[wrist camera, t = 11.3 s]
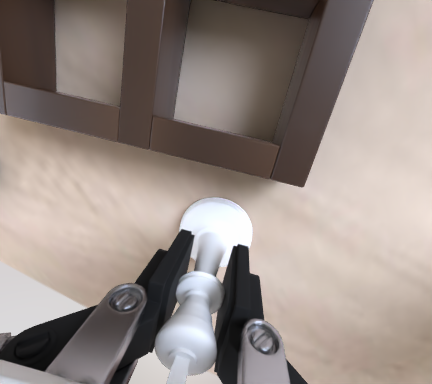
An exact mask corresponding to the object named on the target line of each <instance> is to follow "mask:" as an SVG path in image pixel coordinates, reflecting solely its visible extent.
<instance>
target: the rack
mask: <svg viewBox="0 0 432 384" xmlns="http://www.w3.org/2000/svg"><path fill="white" fill-rule="evenodd" d="M215 1H220V2H225V3H231V4H236V5H241V6H246V7H251V8H256V9H261V10H266V11H271V12H277V13H282V14H287V15H292V16H297V17H302V18H307V19H308V18H309V22H308V25H307V28H306V32H305V35H304V38H303V42H302V45H301V48H300V52H299V55H298V58H297V62H296V65H295V68H294V72H293V75H292V78H291V82H290V85H289V88H288V92H287V95H286V98H285V102H284V105H283V108H282V112H281V115H280V118H279V122H278V125H277V128H276V132H275V135H274V138H273V142H270V141H265V140H261V139H257V138H252V137H248V136H244V135H240V134H235V133H231V132H227V131H223V130H218V129H214V128H210V127H206V126H201V125H197V124H193V123H188V122H184V121H180V120H176V119H173V117H174V110H175V104H176V97H177V90H178V83H179V76H180V69H181V62H182V55H183V48H184V42H185V35H186V28H187V21H188V14H189V7H190V0H127V13H126V28H125V43H124V58H123V74H122V89H121V104H120V106H116V105H112V104H107V103H103V102H99V101H95V100H90V99H86V98H82V97H78V96H73V95H69V94H65V93H60V92H56V62H55V23H54V0H0V113H1V114H5V115H9V116H13V117H17V118H21V119H25V120H29V121H33V122H37V123H41V124H46V125H50V126H54V127H58V128H62V129H66V130H70V131H74V132H78V133H82V134H86V135H90V136H94V137H99V138H103V139H107V140H111V141H115V142H119V143H123V144H127V145H131V146H135V147H139V148H143V149H147V150H148V149H150V150H152V151H156V152H160V153H164V154H168V155H172V156H176V157H180V158H184V159H188V160H193V161H197V162H201V163H205V164H209V165H213V166H217V167H221V168H225V169H229V170H233V171H237V172H241V173H245V174H250V175H254V176H258V177H262V178H266V179H271V180H274V181H278V182H282V183H286V184H290V185H294V186H298V187H304V185H305V183H306V180H307V177H308V175H309V172H310V169H311V167H312V164H313V161H314V159H315V156H316V153H317V151H318V148H319V145H320V143H321V140H322V137H323V135H324V132H325V129H326V127H327V124H328V121H329V119H330V116H331V113H332V111H333V108H334V105H335V103H336V100H337V97H338V94H339V92H340V89H341V86H342V84H343V81H344V78H345V76H346V73H347V70H348V68H349V65H350V62H351V60H352V57H353V54H354V52H355V49H356V46H357V44H358V41H359V38H360V36H361V33H362V30H363V28H364V25H365V22H366V20H367V17H368V14H369V12H370V9H371V6H372V4H373V1H374V0H215Z"/></svg>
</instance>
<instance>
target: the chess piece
mask: <svg viewBox="0 0 432 384" xmlns="http://www.w3.org/2000/svg"><path fill="white" fill-rule="evenodd" d="M181 229H184V230H188V231H192V234H193V235H195V237H194V242H193V247H192V251H191V257H192V258H193V259H194V260H196V263H195V269H194V271H192V272H188V273H186V274H184V275H183V276H182V277H181V278H180V279H179V283H178V286H177V290H176V299H177V301H178V303H179V304H180V306H179V307H178V309H177V310H176V312H175V313H174V314H173V316H172V317H171V318H170V319H169V320H168V321H167V322H166V323H165V324H164V325H163V327H162V328H161V329H160V331H159V332H158V334H157V336H156V339H155V344H154V346H155V352H156V355H157V357H158V358H159V360H160V361H161V363H162V364H163V365H164V366H165V367H167V368H168V369H170V373H169V377H168V380H167V384H185V382H186V377H187V375H198V374H201V373H204V372H206V371H207V370H209V369H210V368H211V367H212V366H213V364H214V363H215V360H216V357H217V345H216V339H215V334H214V331H213V326H212V317H211V314H213V313H215V312H216V311H218V310H219V309H220V307H221V306H222V303H223V299H224V295H225V290H224V287H223V285H222V283H221V282H220V281H219V280H218V279H217V278H216V274H217V271H218V268H219V267H225V266H228V262H229V259H230V255H231V252H232V248H233V245H234V246H237V245H238V244H241V245H245V246H248V248H249V247H250V244H251V240H252V233H253V232H252V224H251V221H250V219H249V217H248V215H247V214H246V212H245V211H244V210H243V209H242V208H241V207H240V206H239V205H237V204H236V203H234V202H232V201H230V200H227V199H224V198H218V197H210V198H205V199H201V200H199V201H197V202H195V203H194V204H192V205H191V206H190V207H189V208H188V209H187V210H186V212H185V213H184V215H183V217H182V221H181V224H180V229H179V232H180V230H181Z"/></svg>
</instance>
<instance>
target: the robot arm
mask: <svg viewBox="0 0 432 384" xmlns="http://www.w3.org/2000/svg"><path fill="white" fill-rule="evenodd" d="M194 237H195V235H193V234H192V231H188V230H184V229H181V230H180V232H179V234H178V235H177V237H176V238H175V240H174V242H173V243H172V245H171V247H170V248H169V250H168V251H166V250H162V249H159V250H158V251H157V252H156V254H155V255H154V256H153V258H152V259H151V261H150V262H149V263H148V265H147V266H146V268H145V269H144V270H143V272H142V273H141V275H140V276H139V277H138V279H137V280H136V282H135V283H134V284H133V283H126V284H121V285H118V286H116V287H115V288H113V289H112V290H110V291H109V292H108V293H107V295H106V296H105V297H104V298H103V300H102V301H101V302H100V303H99V305H96V306H93V307H90V308H87V309H84V310H81V311H78V312H75V313H72V314H69V315H66V316H63V317H60V318H57V319H54V320H51V321H48V322H45V323H43V324H39V325H36V326H34V327H31V328H29V329H27V330H24V331H23V332H21V333H20V334H18V335H17V336H11V333H1V334H0V384H128V383H129V381H130V378H131V376H132V374H133V371H134V369H135V367H136V365H137V362H138V359H139V358H141V357H142V356H144V355H146V354H148V352H151V353H152V351H153V349H154V347H155V346H154V344H155V339H156V336H157V334H158V332H159V331H160V329H161V328H162V327H163V325H164V324H165V323H166V322H167V321H168V320H169V319H170V318H171V316H172V313H173V310H174V308H175V305H176V303H177V299H176V290H177V286H178V283H179V279H180V278H181V277H182V276H183V275H184V274H186V273H187V270H188V265H189V261H190V256H191V251H192V247H193V242H194ZM222 285H223V287H224V290H225V295H224V299H223V303H222V306H221V307H220V309H219V310H218V312H217V320H216V327H215V339H216V345H217V357H216V360H215V370H214V372H217V375H218V377H219V378H220V380H221V382H222V383H223V384H308V383H307V382H306V381H305V380H304V379H303V378H302V377H301V375H300V374H299V373H298V372H297V371H296V370H295V369H294V367H293V366H292V365H291V364H290V363H289V362H288V361H287V359H286V356H285V350H284V344H283V341H282V338H281V336H280V334H279V332H278V331H277V330H276V329H275V328H274V327H273V326H272V325H271V324H270V323H268V322H266V321H264V315H263V306H262V297H261V287H260V279H259V276H258V275H254V274H250V271H249V248H248V246H245V245H241V244H238V245H237V246H234V245H233V248H232V252H231V255H230V259H229V262H228V266H227V269H226V273H225V276H224V280H223V283H222Z"/></svg>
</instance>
